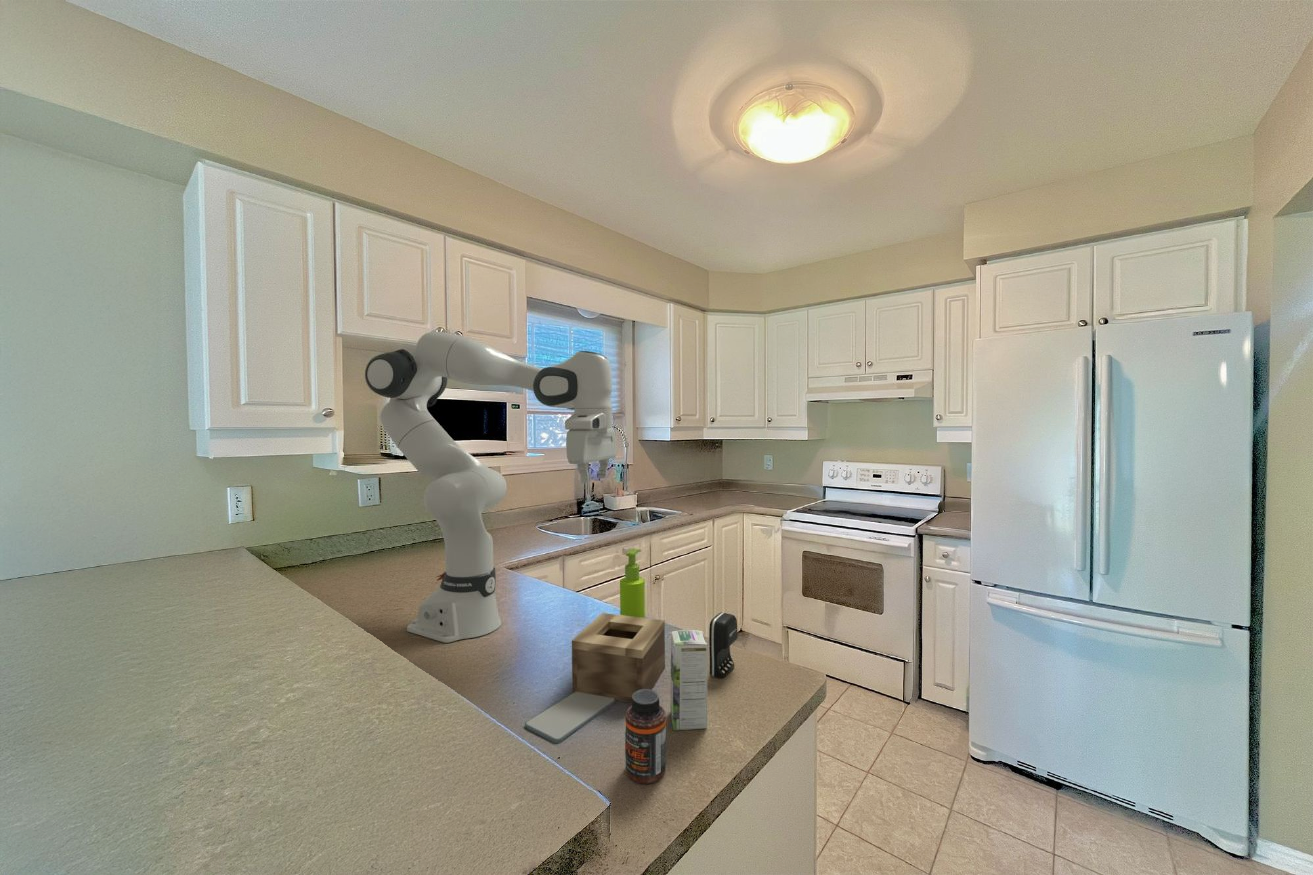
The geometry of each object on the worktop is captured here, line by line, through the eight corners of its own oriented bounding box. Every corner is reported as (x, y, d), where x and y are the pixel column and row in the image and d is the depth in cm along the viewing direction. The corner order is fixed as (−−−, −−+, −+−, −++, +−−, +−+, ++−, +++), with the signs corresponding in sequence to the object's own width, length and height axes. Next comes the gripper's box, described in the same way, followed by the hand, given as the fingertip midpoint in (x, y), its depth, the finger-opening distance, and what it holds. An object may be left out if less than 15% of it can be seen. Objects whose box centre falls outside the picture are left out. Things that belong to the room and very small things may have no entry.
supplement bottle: (617, 779, 72) (617, 701, 72) (636, 753, 78) (635, 681, 77) (656, 791, 70) (655, 710, 69) (672, 764, 75) (671, 689, 75)
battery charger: (726, 682, 98) (726, 624, 98) (708, 677, 100) (708, 620, 100) (739, 666, 104) (739, 612, 104) (722, 662, 106) (722, 609, 106)
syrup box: (669, 711, 89) (669, 630, 88) (702, 709, 89) (702, 628, 89) (673, 731, 83) (672, 644, 82) (709, 729, 83) (708, 643, 83)
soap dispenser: (650, 629, 123) (649, 548, 123) (639, 641, 117) (639, 555, 116) (627, 626, 125) (626, 546, 124) (616, 637, 119) (615, 553, 118)
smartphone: (617, 698, 92) (557, 740, 80) (617, 704, 92) (557, 747, 80) (583, 685, 97) (522, 723, 84) (583, 690, 97) (522, 728, 85)
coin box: (572, 692, 95) (571, 640, 94) (602, 658, 108) (601, 612, 108) (642, 704, 91) (642, 650, 90) (664, 668, 104) (664, 620, 104)
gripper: (599, 421, 129) (599, 475, 129) (560, 421, 109) (561, 485, 110) (622, 421, 127) (622, 475, 127) (587, 421, 107) (588, 486, 108)
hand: (594, 480), depth 118 cm, fingers open, 8 cm apart
